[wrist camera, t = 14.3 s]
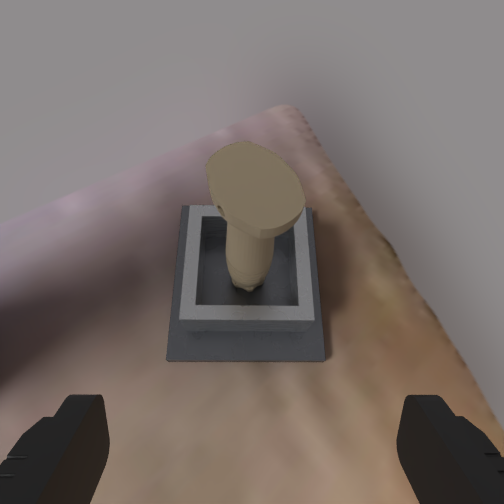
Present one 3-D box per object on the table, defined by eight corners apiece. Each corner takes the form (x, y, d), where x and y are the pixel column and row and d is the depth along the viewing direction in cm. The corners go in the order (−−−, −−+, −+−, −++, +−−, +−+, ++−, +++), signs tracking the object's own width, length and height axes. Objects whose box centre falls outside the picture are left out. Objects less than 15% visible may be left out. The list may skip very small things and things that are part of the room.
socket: (168, 361, 31) (155, 352, 26) (183, 210, 38) (175, 182, 33) (323, 362, 31) (337, 353, 26) (309, 212, 38) (319, 185, 33)
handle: (247, 241, 35) (254, 130, 22) (287, 288, 33) (322, 199, 19) (208, 266, 34) (189, 165, 20) (247, 318, 32) (255, 244, 18)
